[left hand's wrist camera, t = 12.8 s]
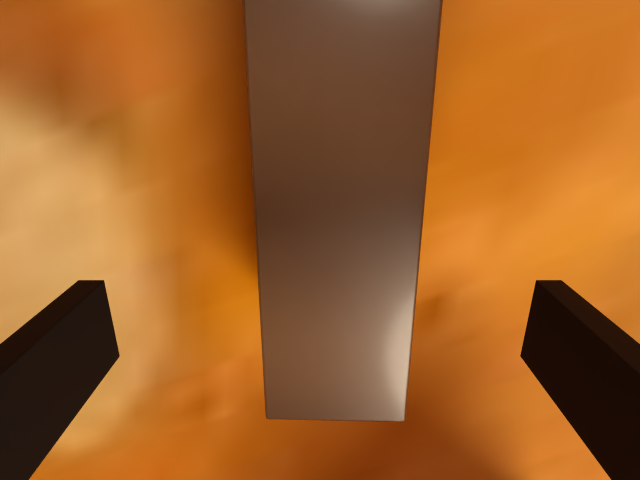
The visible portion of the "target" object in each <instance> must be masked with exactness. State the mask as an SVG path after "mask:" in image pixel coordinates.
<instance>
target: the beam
mask: <svg viewBox="0 0 640 480" xmlns="http://www.w3.org/2000/svg"><path fill="white" fill-rule="evenodd" d="M442 3H443V0H243V18H244V36H245V54H246V72H247V90H248V107H249V125H250V143H251V161H252V179H253V197H254V215H255V233H256V251H257V269H258V287H259V305H260V323H261V340H262V358H263V376H264V394H265V412H266V418H267V419H287V420H337V421H387V422H404V421H405V416H406V405H407V394H408V382H409V371H410V360H411V349H412V338H413V327H414V315H415V304H416V293H417V282H418V271H419V260H420V249H421V237H422V226H423V215H424V204H425V193H426V182H427V170H428V159H429V148H430V137H431V126H432V115H433V103H434V92H435V81H436V70H437V59H438V48H439V36H440V25H441V14H442Z"/></svg>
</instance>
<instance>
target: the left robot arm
mask: <svg viewBox="0 0 640 480" xmlns="http://www.w3.org/2000/svg"><path fill="white" fill-rule="evenodd" d="M118 358H119V351H118V346H117V341H116V336H115V332H114V327H113V322H112V317H111V312H110V307H109V303H108V298H107V293H106V288H105V283H104V280H78V281H77V282H76V283H75V284H74V285H72V286H71V287H70V288H69V289H67V290H66V291H65V292H64V293H62V294H61V295H60V296H59V297H58V298H56V299H55V300H54V301H53V302H51V303H50V304H49V305H48V306H47V307H45V308H44V309H43V310H42V311H40V312H39V313H38V314H37V315H35V316H34V317H33V318H32V319H31V320H29V321H28V322H27V323H26V324H24V325H23V326H22V327H21V328H19V329H18V330H17V331H16V332H15V333H13V334H12V335H11V336H10V337H8V338H7V339H6V340H5V341H4V342H2V343H1V344H0V480H29V479H30V477H31V476H32V474H33V473H34V472H35V470H36V469H37V468H38V466H39V465H40V464H41V462H42V461H43V459H44V458H45V457H46V455H47V454H48V453H49V451H50V450H51V449H52V447H53V446H54V445H55V443H56V442H57V440H58V439H59V438H60V436H61V435H62V434H63V432H64V431H65V430H66V428H67V427H68V426H69V424H70V423H71V421H72V420H73V419H74V417H75V416H76V415H77V413H78V412H79V411H80V409H81V408H82V407H83V405H84V404H85V402H86V401H87V400H88V398H89V397H90V396H91V394H92V393H93V392H94V390H95V389H96V387H97V386H98V385H99V383H100V382H101V381H102V379H103V378H104V377H105V375H106V374H107V373H108V371H109V370H110V368H111V367H112V366H113V364H114V363H115V362H116V360H117V359H118ZM521 358H522V359H523V360H524V362H525V363H526V364H527V366H528V367H529V368H530V370H531V371H532V373H533V374H534V375H535V377H536V378H537V379H538V381H539V382H540V383H541V385H542V386H543V388H544V389H545V390H546V392H547V393H548V394H549V396H550V397H551V398H552V400H553V401H554V402H555V404H556V405H557V407H558V408H559V409H560V411H561V412H562V413H563V415H564V416H565V417H566V419H567V420H568V421H569V423H570V424H571V426H572V427H573V428H574V430H575V431H576V432H577V434H578V435H579V436H580V438H581V439H582V440H583V442H584V443H585V445H586V446H587V447H588V449H589V450H590V451H591V453H592V454H593V455H594V457H595V458H596V459H597V461H598V462H599V464H600V465H601V466H602V468H603V469H604V470H605V472H606V473H607V474H608V476H609V477H610V479H611V480H640V344H639V343H638V342H636V341H635V340H634V339H633V338H632V337H630V336H629V335H628V334H627V333H625V332H624V331H623V330H622V329H621V328H619V327H618V326H617V325H616V324H614V323H613V322H612V321H611V320H609V319H608V318H607V317H606V316H605V315H603V314H602V313H601V312H600V311H598V310H597V309H596V308H595V307H593V306H592V305H591V304H590V303H589V302H587V301H586V300H585V299H584V298H582V297H581V296H580V295H579V294H578V293H576V292H575V291H574V290H573V289H571V288H570V287H569V286H568V285H566V284H565V283H564V282H563V281H562V280H536V283H535V288H534V293H533V298H532V303H531V307H530V312H529V317H528V322H527V327H526V332H525V336H524V341H523V346H522V351H521Z"/></svg>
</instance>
